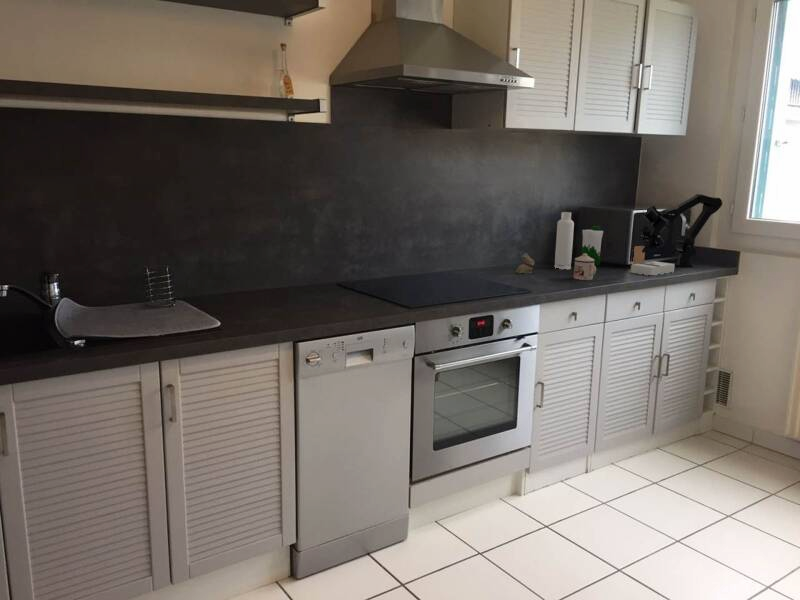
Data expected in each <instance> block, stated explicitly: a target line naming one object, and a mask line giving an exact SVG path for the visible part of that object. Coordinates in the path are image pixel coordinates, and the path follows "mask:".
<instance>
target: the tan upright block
mask: <svg viewBox="0 0 800 600" xmlns="http://www.w3.org/2000/svg"><path fill="white" fill-rule="evenodd" d="M645 246H646V245H639V246H635V247H634V257H633V262H634V263H633V264H639V262H640V263H645V256H646V252H644V253H642V250H643V249H644V247H645Z"/></svg>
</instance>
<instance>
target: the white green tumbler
mask: <svg viewBox="0 0 800 600" xmlns="http://www.w3.org/2000/svg"><path fill="white" fill-rule="evenodd" d="M591 228H592V229H582V244H581V245H582V248H581V256H583V254H584V253H585V254H587V256H589V257H590V258H592V259H594V260H595V262H594V265H596V266H600V265H601V251H602V249H601V247H602V238H603V234H604V230H601V226H599V225H593V226H592V227H591Z"/></svg>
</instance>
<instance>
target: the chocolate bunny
mask: <svg viewBox="0 0 800 600" xmlns="http://www.w3.org/2000/svg"><path fill="white" fill-rule="evenodd" d="M521 259H522V260H523V263H522V264H520V265H518V267H517V269H516V271H515V273H516V272H517V273H516V274H518V273H532V274H533V272H532V271H533V270H534V266H535V261H534V259H533V258H531V257H530V256H529V254H528V253H527V252H525V253H524V254H523V255H521Z"/></svg>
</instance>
